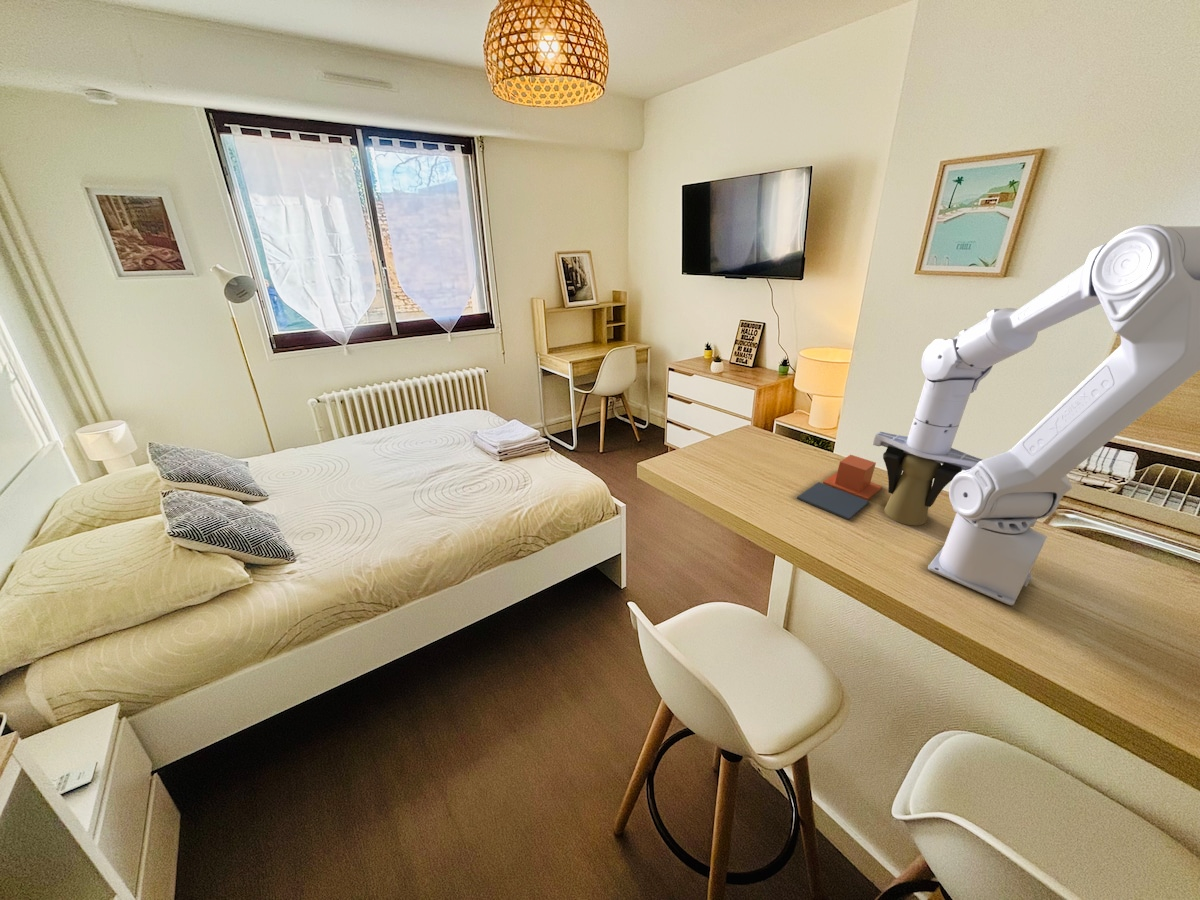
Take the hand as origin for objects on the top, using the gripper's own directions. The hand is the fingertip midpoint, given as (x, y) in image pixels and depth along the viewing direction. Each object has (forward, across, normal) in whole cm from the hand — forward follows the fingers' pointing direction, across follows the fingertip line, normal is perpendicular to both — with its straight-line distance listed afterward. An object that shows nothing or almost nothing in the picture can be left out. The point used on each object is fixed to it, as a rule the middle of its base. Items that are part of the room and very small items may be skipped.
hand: (910, 497), depth 76 cm
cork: (+4, 0, 0) cm, 4 cm away
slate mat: (+3, +10, +4) cm, 11 cm away
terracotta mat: (+3, +10, -4) cm, 11 cm away
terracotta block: (+3, +10, -4) cm, 11 cm away
